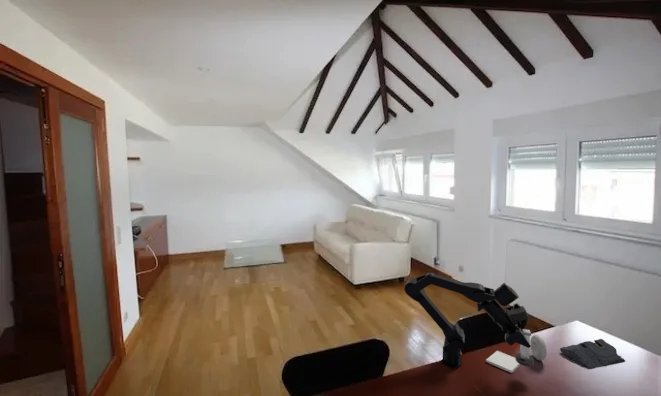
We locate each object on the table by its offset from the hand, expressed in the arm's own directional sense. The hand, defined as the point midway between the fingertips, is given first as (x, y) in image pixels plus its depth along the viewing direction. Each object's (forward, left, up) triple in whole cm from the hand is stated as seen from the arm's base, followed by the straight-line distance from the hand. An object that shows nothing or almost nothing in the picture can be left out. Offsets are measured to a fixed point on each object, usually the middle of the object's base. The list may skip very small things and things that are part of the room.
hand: (529, 345), depth 123 cm
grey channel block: (-1, -1, -7) cm, 7 cm away
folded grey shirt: (+11, +35, -14) cm, 39 cm away
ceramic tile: (-10, +3, -13) cm, 17 cm away
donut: (-2, +16, -13) cm, 21 cm away
